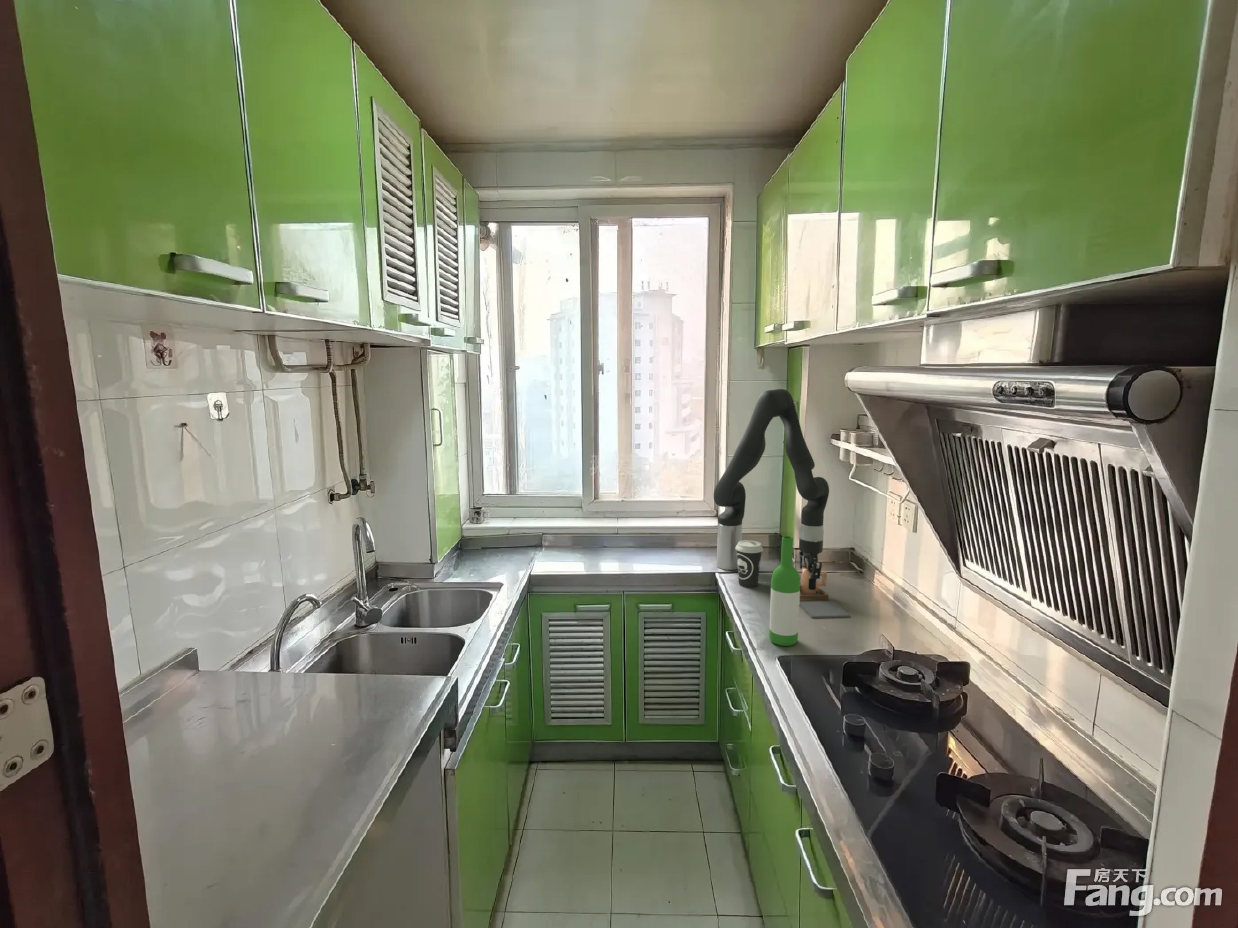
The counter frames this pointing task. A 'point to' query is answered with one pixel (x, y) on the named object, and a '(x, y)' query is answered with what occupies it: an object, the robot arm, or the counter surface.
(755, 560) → the coffee cup
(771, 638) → the wine bottle
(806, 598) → the holder
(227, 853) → the counter surface
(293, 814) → the counter surface
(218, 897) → the counter surface
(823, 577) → the orange mug
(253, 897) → the counter surface
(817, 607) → the mat
